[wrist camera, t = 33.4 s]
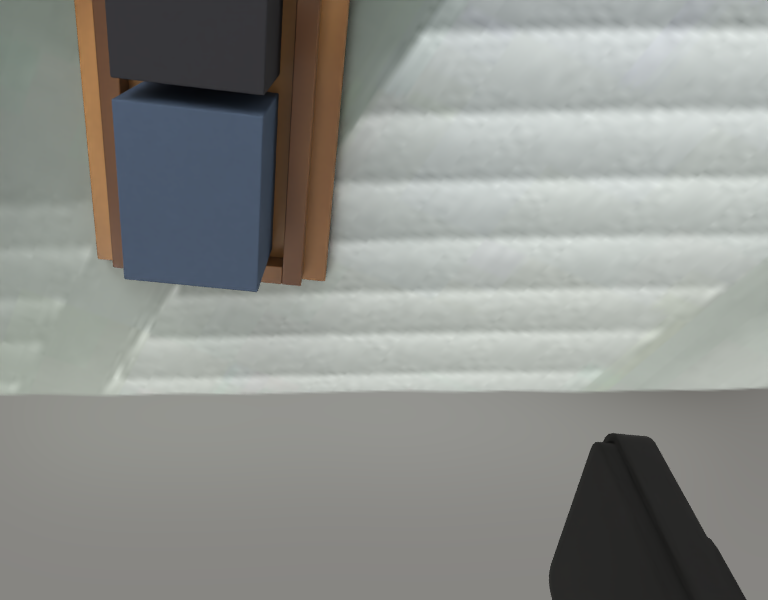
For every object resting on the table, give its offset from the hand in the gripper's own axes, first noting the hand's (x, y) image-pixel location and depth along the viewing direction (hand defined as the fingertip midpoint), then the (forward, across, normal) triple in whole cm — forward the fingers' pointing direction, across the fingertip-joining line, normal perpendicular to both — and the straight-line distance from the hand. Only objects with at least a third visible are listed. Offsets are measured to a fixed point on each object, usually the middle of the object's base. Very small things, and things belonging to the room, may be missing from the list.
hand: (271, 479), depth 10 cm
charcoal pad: (+24, +6, -5) cm, 26 cm away
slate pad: (+24, +6, +4) cm, 25 cm away
